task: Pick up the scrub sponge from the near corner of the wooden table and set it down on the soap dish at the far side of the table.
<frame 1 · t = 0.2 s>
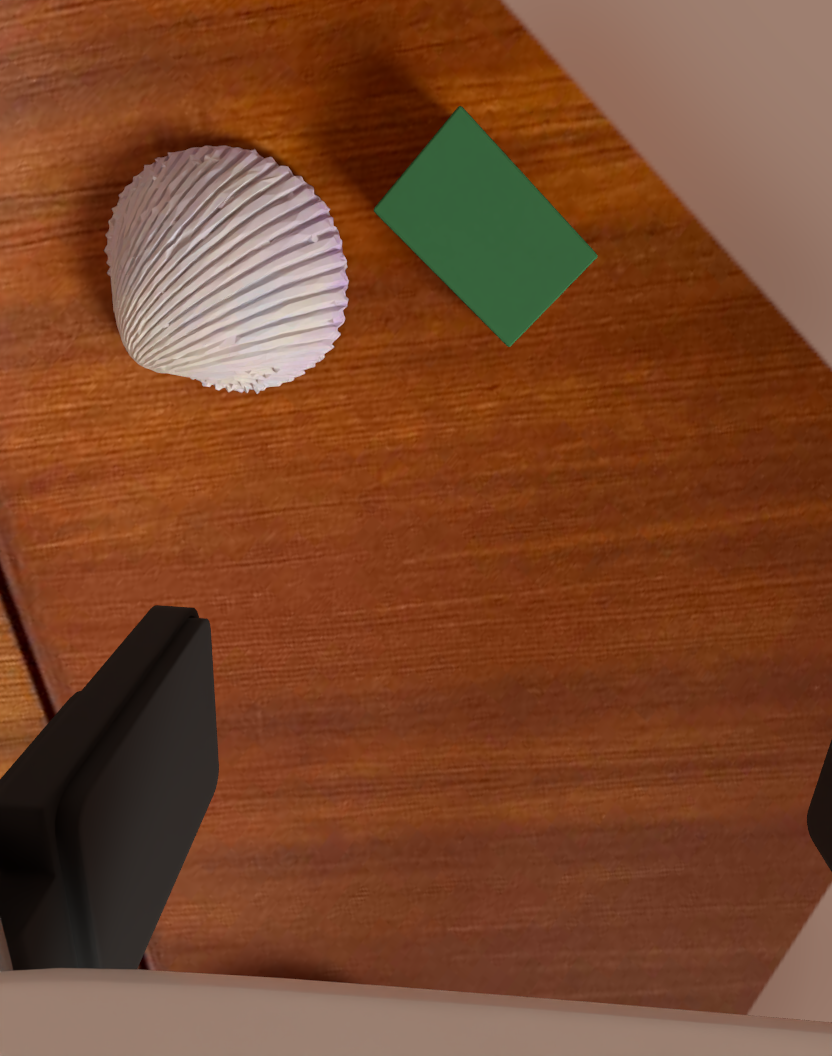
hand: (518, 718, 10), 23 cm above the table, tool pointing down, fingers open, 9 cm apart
scrub sponge: (482, 235, 29), on the table
seashell: (231, 277, 30), on the table
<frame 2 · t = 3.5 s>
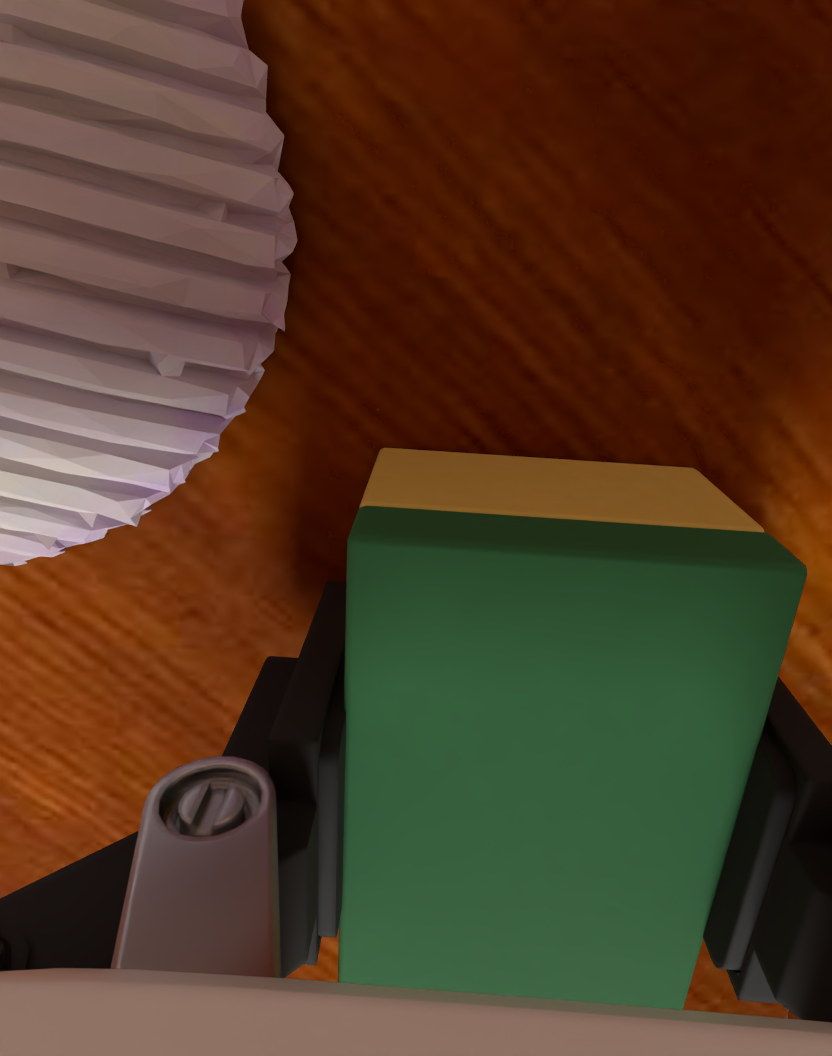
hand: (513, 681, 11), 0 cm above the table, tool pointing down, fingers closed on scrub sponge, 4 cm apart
scrub sponge: (511, 668, 12), on the table, touching gripper
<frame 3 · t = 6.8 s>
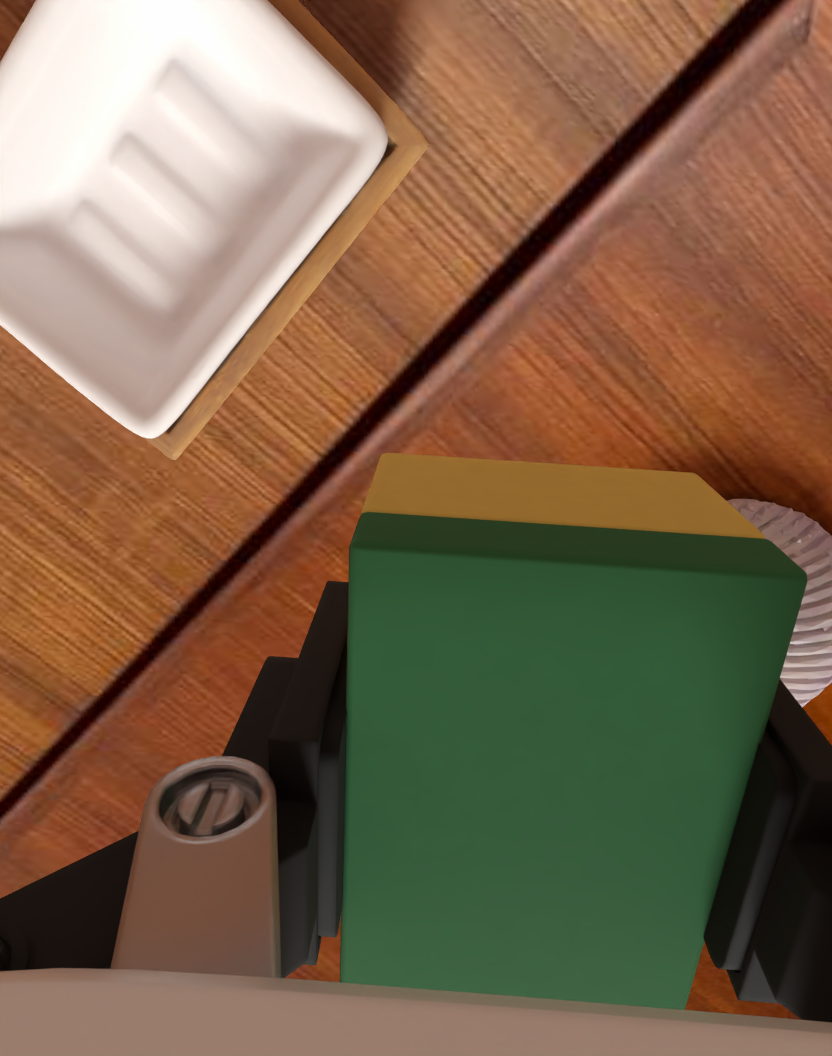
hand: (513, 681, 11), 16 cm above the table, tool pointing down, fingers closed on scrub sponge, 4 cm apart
scrub sponge: (512, 672, 12), point 15 cm above the table, touching gripper
seashell: (717, 614, 28), on the table
soap dish: (203, 203, 23), on the table
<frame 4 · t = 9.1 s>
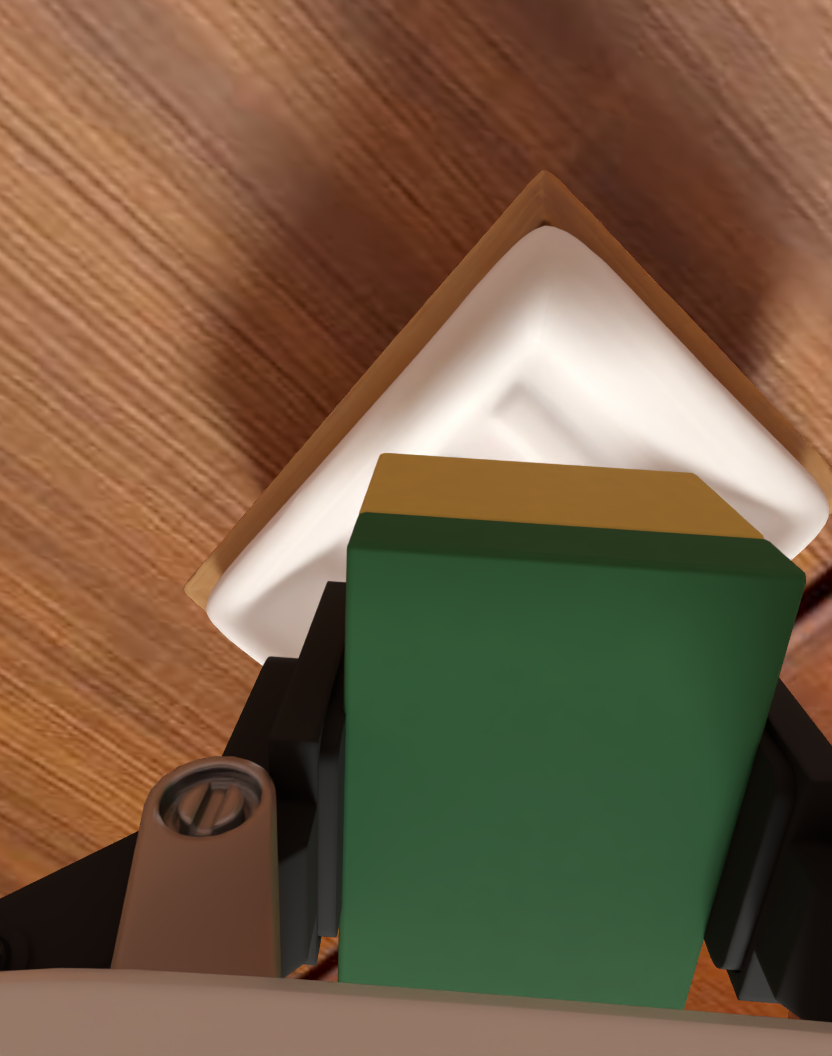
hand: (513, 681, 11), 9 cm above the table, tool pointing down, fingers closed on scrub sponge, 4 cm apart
scrub sponge: (511, 672, 12), point 9 cm above the table, touching gripper
soap dish: (492, 492, 20), on the table
when the fingers open (5 cm above the table, at t = 10.4 s): scrub sponge stays where it is, resting on soap dish.
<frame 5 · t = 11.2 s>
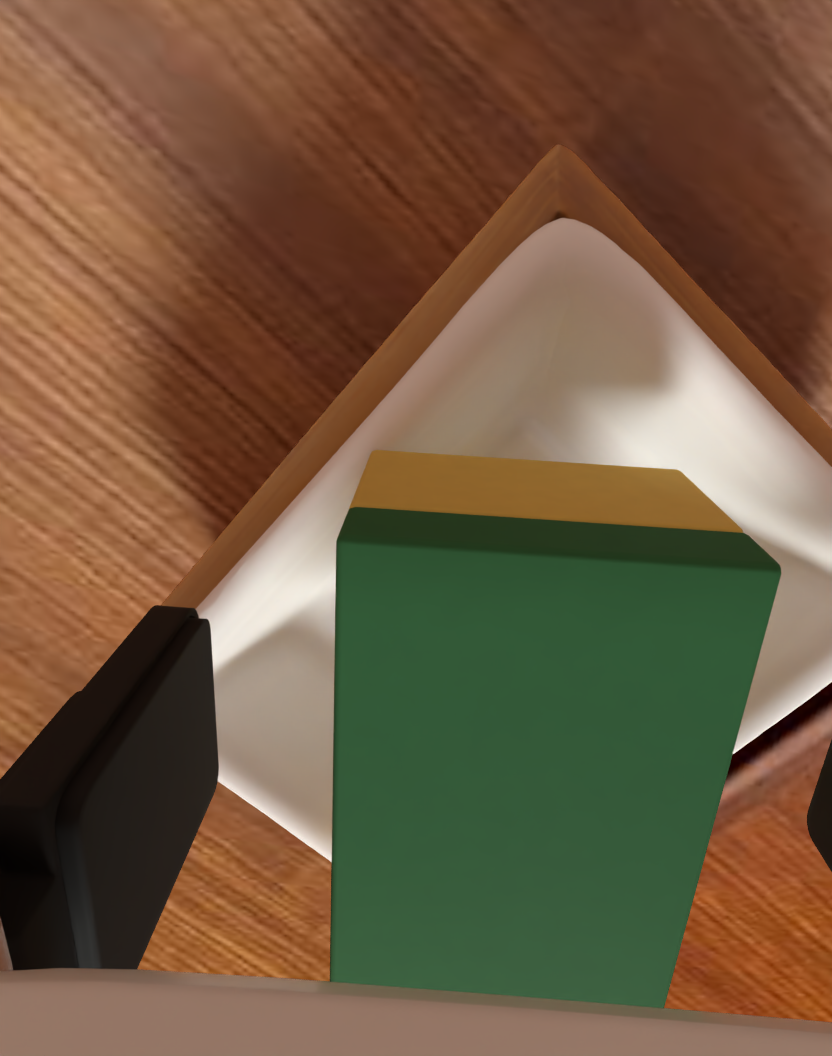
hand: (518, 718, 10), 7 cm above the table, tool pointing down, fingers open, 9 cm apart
scrub sponge: (501, 666, 12), point 5 cm above the table, touching soap dish
soap dish: (490, 541, 17), on the table, touching scrub sponge
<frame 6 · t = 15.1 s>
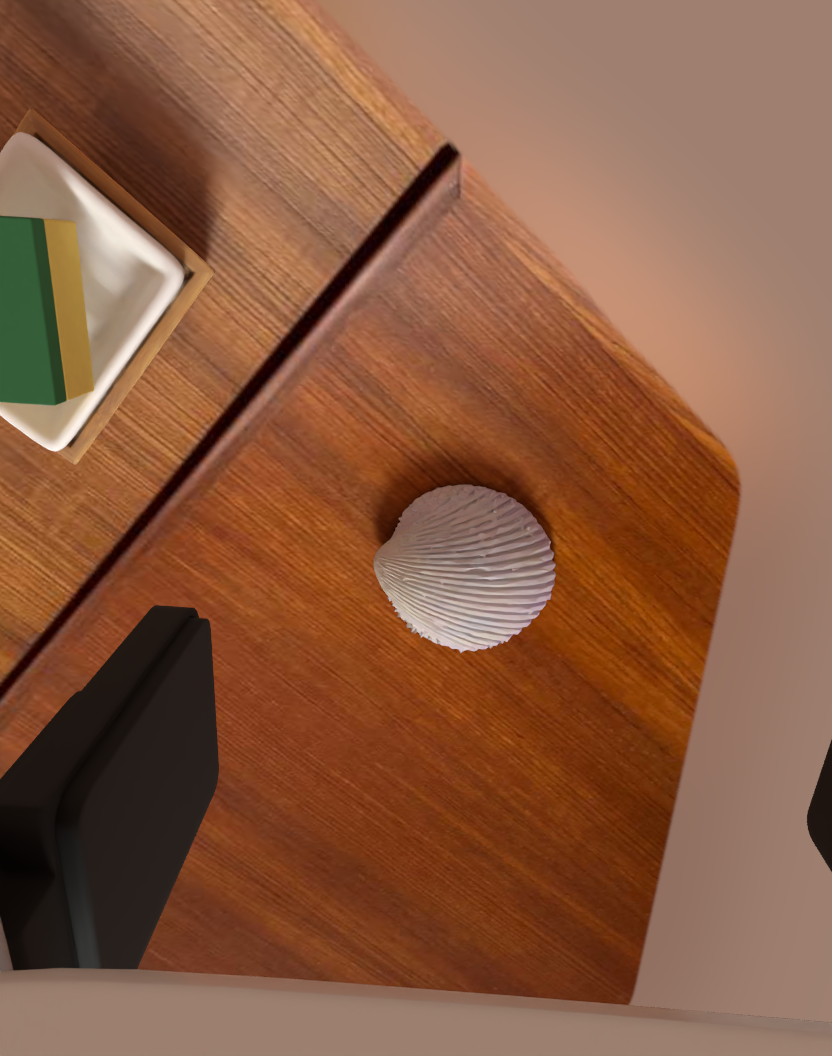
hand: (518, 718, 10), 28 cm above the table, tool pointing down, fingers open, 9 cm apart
scrub sponge: (35, 306, 31), point 5 cm above the table, touching soap dish
seashell: (464, 565, 41), on the table
soap dish: (93, 297, 36), on the table, touching scrub sponge
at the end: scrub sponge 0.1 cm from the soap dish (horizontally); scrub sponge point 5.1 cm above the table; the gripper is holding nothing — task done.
